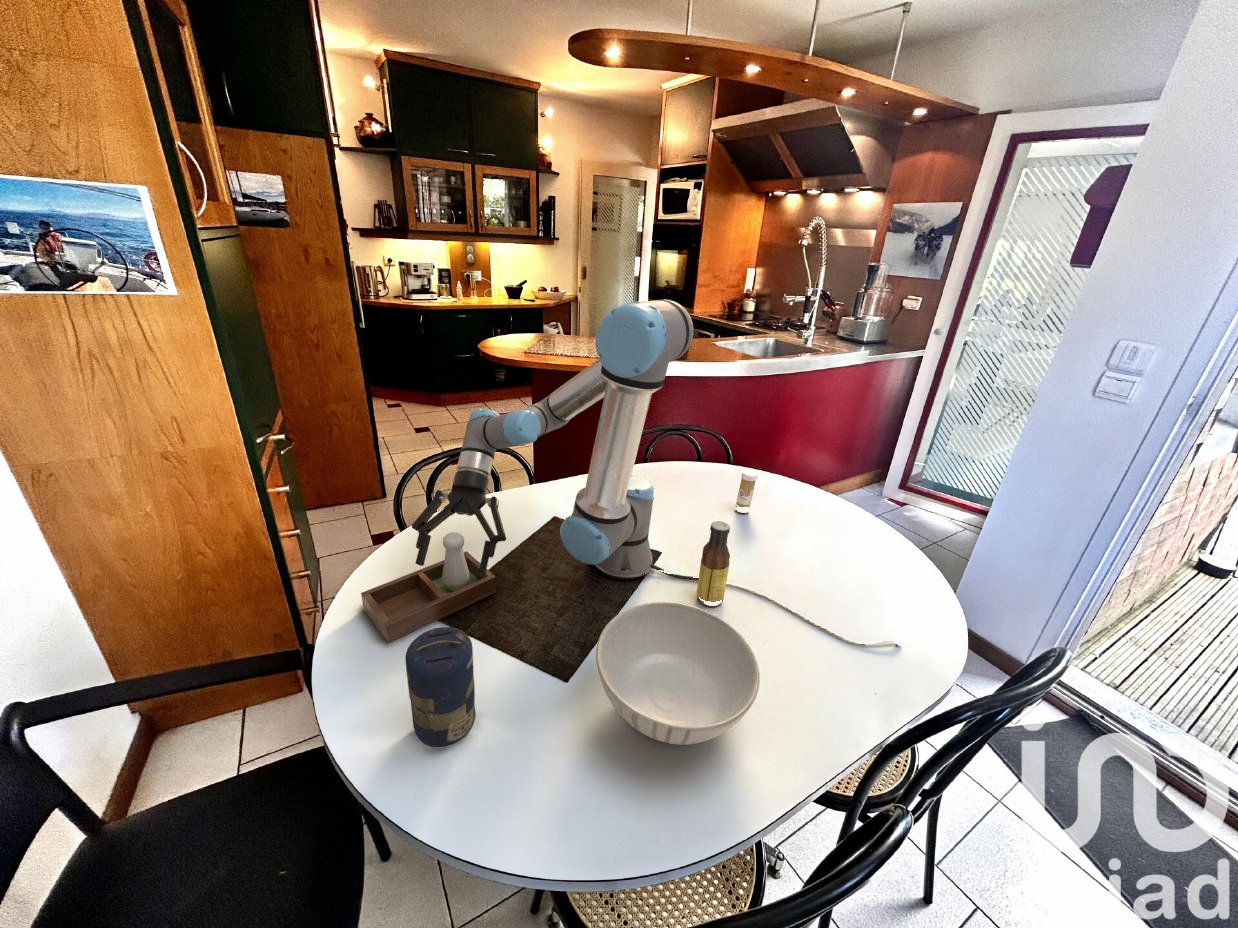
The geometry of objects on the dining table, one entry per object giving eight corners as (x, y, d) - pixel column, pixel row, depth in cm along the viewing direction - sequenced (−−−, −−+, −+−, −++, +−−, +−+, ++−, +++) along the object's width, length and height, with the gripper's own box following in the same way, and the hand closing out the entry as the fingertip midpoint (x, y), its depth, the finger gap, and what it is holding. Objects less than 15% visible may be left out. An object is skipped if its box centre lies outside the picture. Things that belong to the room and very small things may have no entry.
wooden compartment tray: (496, 592, 109) (495, 576, 108) (388, 643, 93) (386, 626, 92) (467, 565, 117) (466, 550, 115) (363, 609, 101) (360, 592, 99)
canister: (423, 699, 83) (414, 617, 76) (481, 699, 84) (477, 617, 77) (406, 753, 74) (393, 666, 67) (470, 752, 75) (464, 666, 68)
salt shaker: (461, 596, 106) (458, 546, 100) (437, 591, 106) (433, 540, 101) (474, 580, 111) (472, 531, 105) (451, 575, 112) (448, 526, 106)
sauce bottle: (725, 596, 115) (741, 523, 106) (718, 612, 109) (734, 536, 101) (698, 586, 117) (712, 515, 109) (690, 602, 112) (704, 527, 104)
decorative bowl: (630, 811, 70) (639, 755, 65) (571, 669, 92) (574, 619, 87) (778, 750, 80) (796, 697, 75) (693, 635, 102) (702, 589, 97)
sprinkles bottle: (731, 510, 153) (739, 472, 147) (738, 505, 156) (746, 467, 150) (745, 516, 150) (754, 477, 145) (751, 511, 153) (760, 472, 148)
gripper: (529, 485, 114) (512, 577, 107) (425, 474, 115) (400, 564, 108) (523, 475, 107) (504, 572, 100) (412, 462, 108) (385, 558, 101)
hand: (450, 568), depth 104 cm, fingers open, 13 cm apart
